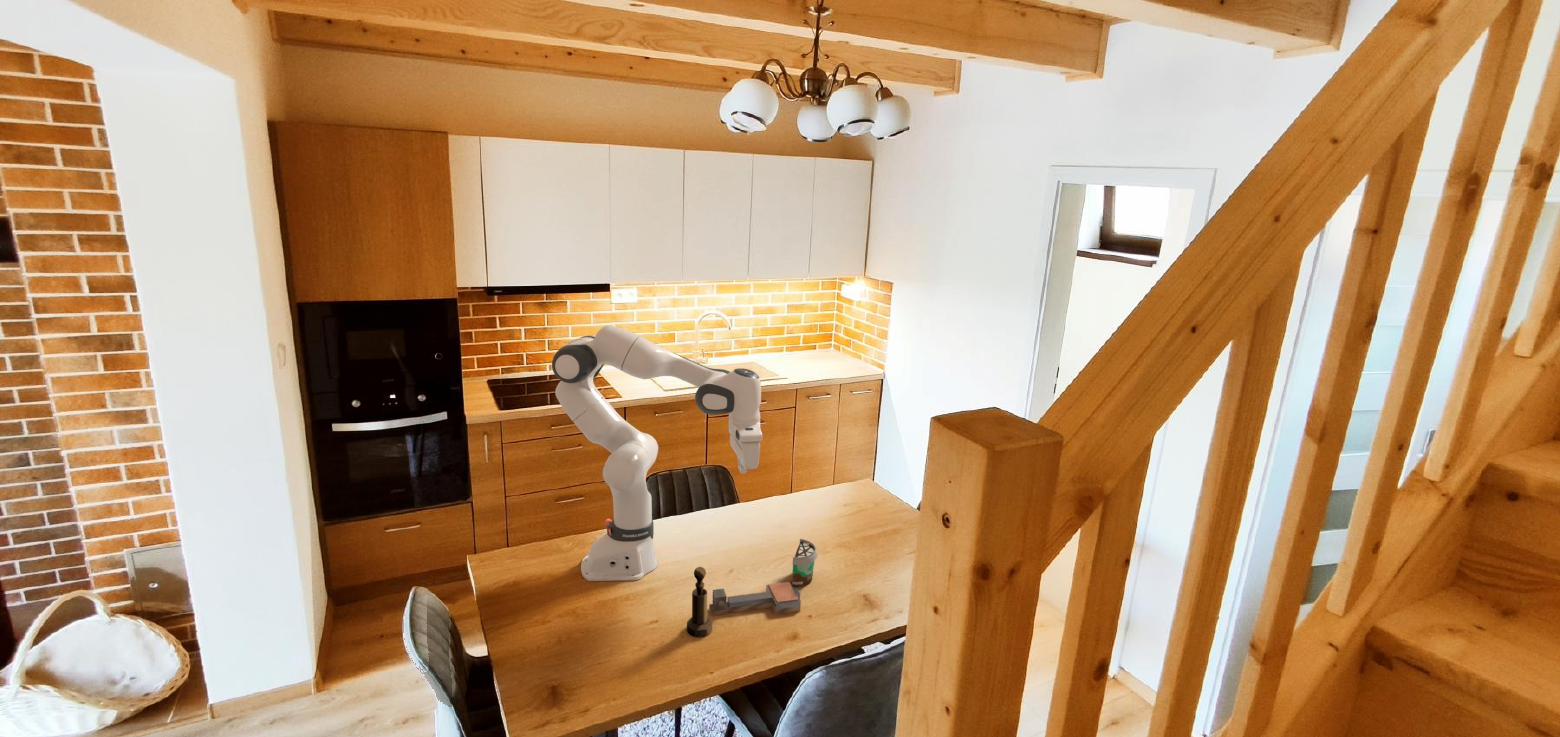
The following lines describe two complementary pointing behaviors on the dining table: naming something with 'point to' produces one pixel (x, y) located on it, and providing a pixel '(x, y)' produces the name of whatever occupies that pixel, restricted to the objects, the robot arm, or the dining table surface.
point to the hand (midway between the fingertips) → (742, 471)
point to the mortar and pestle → (699, 608)
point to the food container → (804, 563)
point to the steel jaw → (769, 597)
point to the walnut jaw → (722, 606)
